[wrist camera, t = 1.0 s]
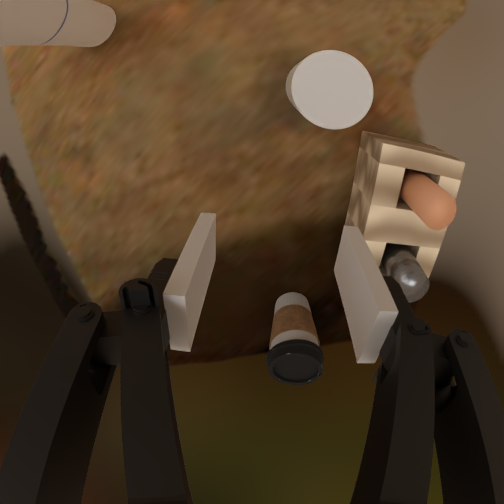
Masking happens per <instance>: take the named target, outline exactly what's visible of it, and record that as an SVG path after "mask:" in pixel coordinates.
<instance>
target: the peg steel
mask: <svg viewBox="0 0 504 504" xmlns="http://www.w3.org/2000/svg"><path fill="white" fill-rule="evenodd" d="M381 263H382V265H383V267H384V269H385V271H386V273H387V275H388V276H392V277H393V278H394V279H395V280H396V281H397V282H398V283H399V284H400V286H401V288H402V290H403V292H404V294H405V296H406V299H407V300H408V302H409V303H410V302H414V301H417V300H419V299H420V298H422V297H423V296H424V295H425V293H426V292H427V290H428V288H429V279H428V277H427V276H426V274H425V272H424V271H423V269H422V268H421V266H420V265H419V263H418V262H417V260H416V259H415V257H414V256H413V254H412V253H411V251H410V250H409V248H408V247H407V245H403V244H394V243H386V246H385V249H384V253H383V256H382V259H381Z"/></svg>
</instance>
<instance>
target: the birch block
mask: <svg viewBox="0 0 504 504" xmlns="http://www.w3.org/2000/svg"><path fill="white" fill-rule="evenodd" d="M464 166H465V163H464V162H463V161H461V160H459V159H457V158H455V157H453V156H452V155H450V154H448V153H446V152H444V151H442V150H440V149H438V148H436V147H434V146H431V145H427V144H423V143H419V142H415V141H411V140H406V139H402V138H397V137H393V136H388V135H383V134H378V133H373V132H368V131H362V133H361V140H360V146H359V152H358V158H357V164H356V170H355V176H354V181H353V186H352V192H351V197H350V202H349V207H348V212H347V217H346V221H345V225H346V226H355V227H358V228H359V230H360V232H361V234H362V236H363V238H364V240H365V241H366V243H367V245H368V247H369V249H370V251H371V253H372V255H373V257H374V260H375V262H376V264H377V266H378V268H379V270H380V272H381V274H382V276H388V275H387V273H386V271H385V269H384V267H383V265H382V263H381V259H382V256H383V253H384V249H385V246H386V243H394V244H403V245H407V247H408V248H409V250H410V251H411V253H412V254H413V256H414V257H415V259H416V260H417V262H418V263H419V265H420V266H421V268H422V269H423V271H424V272H425V274H426V276H427V277H428V278H429V276H430V273H431V271H432V268H433V266H434V263H435V261H436V258H437V255H438V252H439V250H440V247H441V244H442V241H443V238H444V235H445V232H446V229H447V227H446V228H444V229H441V230H432V229H430V228H429V227H427V225H426V224H425V223H424V222H423V221H422V220H421V219H420V218H419V217H418V215H417V214H416V213H415V212H414V211H413V210H412V209H411V208H410V207H409V206H408V205H407V204H406V203H405V201H404V200H403V199H402V198H401V197H400V196H399V193H400V189H401V185H402V181H403V176H404V171H405V168H408V169H413V170H417V171H420V172H421V173H423V174H424V175H426V176H427V177H428V178H430V179H431V180H432V181H434V182H435V183H436V184H438V185H439V186H440V187H441V188H443V189H444V190H445V191H447V192H448V193H449V194H450V195H452V196H453V198H454V199H455V200H456V197H457V193H458V190H459V186H460V182H461V178H462V174H463V170H464Z"/></svg>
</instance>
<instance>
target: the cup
mask: <svg viewBox="0 0 504 504" xmlns="http://www.w3.org/2000/svg"><path fill="white" fill-rule="evenodd" d="M286 93H287V96H288V99H289V100H290V102H291V103H292V105H293V106H294V107H295V108H296V109H297V110H298V111H299V112H300V113H301V114H302V115H303V116H304V117H305V118H306V119H307V120H309V121H310V122H312V123H313V124H315V125H317V126H320V127H323V128H327V129H343V128H347V127H350V126H352V125H354V124H356V123H358V122H359V121H360V120H361V119H362V118H363V117H364V116H365V115H366V114H367V112H368V111H369V109H370V107H371V104H372V100H373V84H372V80H371V77H370V75H369V73H368V71H367V70H366V68H365V67H364V66H363V65H362V64H361V63H360V62H359V61H358V60H357V59H356V58H354V57H353V56H351V55H349V54H347V53H344V52H341V51H336V50H324V51H319V52H316V53H313V54H311V55H309V56H308V57H306V58H305V59H304V60H302V61H301V62H299V63H298V64H297V65H295V66H294V67H293V68H292V69H291V71H290V72H289V74H288V76H287V79H286Z"/></svg>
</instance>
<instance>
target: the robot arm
mask: <svg viewBox="0 0 504 504" xmlns="http://www.w3.org/2000/svg"><path fill="white" fill-rule="evenodd" d="M215 248H216V214H215V213H201V214H200V216H199V218H198V220H197V222H196V224H195V226H194V228H193V230H192V232H191V234H190V236H189V238H188V240H187V242H186V245H185V247H184V249H183V251H182V253H181V255H180V257H179V259H168V258H163V259H162V260H160V261H159V262H158V263H156V264H155V266H154V268H153V270H152V272H151V273H150V275H149V277H148V279H142V278H137V279H132V280H129V281H127V282H125V283H124V284H123V285H122V286H121V287H120V289H119V296H120V300H121V304H122V309H123V310H120V311H112V312H102V309H101V307H100V306H99V305H98V304H96V303H92V302H85V303H82V304H78V305H77V306H75V307H74V308H73V309H72V310H71V311H70V312H69V314H68V316H67V318H66V320H65V321H64V323H63V325H62V327H61V329H60V331H59V333H58V335H57V336H56V338H55V340H54V342H53V344H52V346H51V348H50V350H49V352H48V354H47V356H46V358H45V360H44V362H43V364H42V366H41V368H40V370H39V373H38V375H37V377H36V379H35V381H34V383H33V386H32V388H31V390H30V393H29V395H28V397H27V399H26V402H25V404H24V406H23V409H22V411H21V414H20V416H19V419H18V421H17V424H16V427H15V429H14V432H13V434H12V437H11V440H10V442H9V446H8V448H7V451H6V454H5V457H4V460H3V463H2V466H1V469H0V504H81V501H82V496H83V491H84V486H85V481H86V477H87V472H88V468H89V464H90V459H91V455H92V451H93V447H94V443H95V438H96V435H97V431H98V428H99V424H100V420H101V416H102V413H103V409H104V406H105V402H106V399H107V396H108V392H109V389H110V385H111V382H112V379H113V376H114V373H115V370H116V366H117V365H119V364H121V423H122V442H123V455H124V467H125V477H126V486H127V494H128V504H193V500H192V496H191V491H190V487H189V482H188V478H187V473H186V469H185V464H184V458H183V453H182V448H181V443H180V438H179V432H178V426H177V420H176V414H175V407H174V400H173V394H172V386H171V380H170V372H169V363H168V355H167V350H166V349H167V346H168V343H169V341H170V347H171V349H173V350H180V351H187V352H190V350H191V346H192V343H193V339H194V335H195V331H196V328H197V324H198V320H199V317H200V313H201V309H202V306H203V302H204V298H205V295H206V291H207V288H208V284H209V281H210V277H211V274H212V270H213V267H214V263H215ZM334 272H335V276H336V280H337V283H338V287H339V291H340V294H341V298H342V302H343V306H344V310H345V314H346V318H347V322H348V326H349V330H350V334H351V338H352V342H353V346H354V350H355V355H356V360H357V363H375V361H376V359H377V357H378V355H379V353H380V356H381V359H382V363H381V365H380V367H379V368H378V370H377V372H376V374H375V376H374V378H373V380H372V381H373V382H374V381H375V380H376V378H377V383H376V389H375V395H374V401H373V407H372V413H371V418H370V424H369V429H368V434H367V439H366V443H365V448H364V452H363V456H362V461H361V465H360V469H359V473H358V477H357V481H356V484H355V488H354V492H353V495H352V498H351V502H350V504H427V498H428V492H429V484H430V476H431V467H432V455H433V441H434V440H435V445H436V451H437V458H438V464H439V471H440V478H441V486H442V495H443V504H504V411H503V408H502V405H501V402H500V399H499V397H498V394H497V391H496V389H495V386H494V383H493V381H492V378H491V375H490V373H489V371H488V368H487V366H486V364H485V361H484V359H483V356H482V354H481V352H480V350H479V347H478V345H477V343H476V341H475V339H474V338H473V336H472V335H471V334H470V333H469V332H467V331H465V330H463V329H458V328H457V329H453V330H452V331H450V333H449V335H448V337H446V336H442V335H438V334H435V333H432V331H431V328H430V326H429V325H428V324H427V323H426V322H425V321H423V320H421V319H419V318H416V317H415V315H414V312H413V310H412V308H411V306H410V304H409V302H408V300H407V299H406V296H405V294H404V292H403V290H402V288H401V286H400V284H399V283H398V282H397V281H396V280H395V279H394V278H393V277H392V276H382V274H381V272H380V270H379V268H378V266H377V264H376V262H375V260H374V257H373V255H372V253H371V251H370V249H369V247H368V245H367V243H366V241H365V240H364V238H363V236H362V234H361V232H360V230H359V228H358V227H355V226H346V225H344V228H343V232H342V237H341V241H340V246H339V250H338V255H337V259H336V263H335V267H334ZM454 379H455V380H456V383H457V385H456V386H455V385H454V382H453V380H454Z"/></svg>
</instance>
